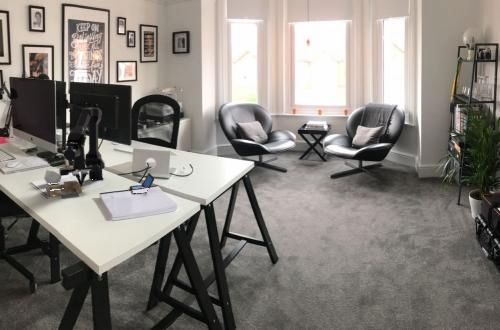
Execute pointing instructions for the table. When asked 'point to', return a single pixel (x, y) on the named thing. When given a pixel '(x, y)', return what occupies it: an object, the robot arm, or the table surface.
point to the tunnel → (58, 192)
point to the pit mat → (70, 195)
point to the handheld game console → (145, 182)
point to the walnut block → (71, 186)
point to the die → (52, 176)
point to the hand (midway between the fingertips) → (81, 186)
